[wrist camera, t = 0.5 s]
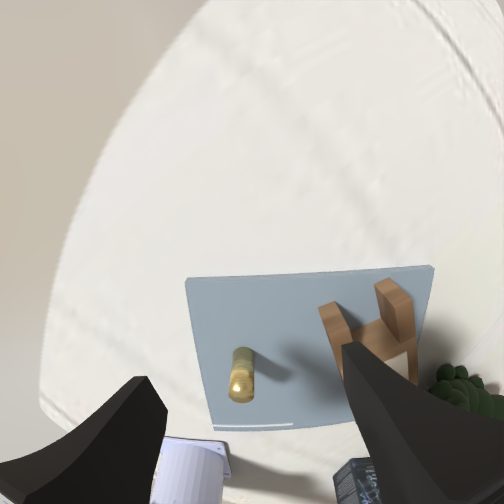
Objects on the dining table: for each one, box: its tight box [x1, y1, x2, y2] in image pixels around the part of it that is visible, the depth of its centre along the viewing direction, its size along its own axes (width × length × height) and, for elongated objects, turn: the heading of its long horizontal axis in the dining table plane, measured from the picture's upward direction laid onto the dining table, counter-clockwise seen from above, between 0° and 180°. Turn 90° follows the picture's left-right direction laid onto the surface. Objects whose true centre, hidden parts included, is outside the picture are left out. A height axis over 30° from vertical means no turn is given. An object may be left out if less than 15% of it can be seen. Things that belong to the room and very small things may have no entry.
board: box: [185, 265, 435, 431], centre depth 20 cm, size 16×18×1 cm
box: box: [333, 458, 382, 504], centre depth 22 cm, size 8×6×11 cm
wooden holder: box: [318, 277, 418, 424], centre depth 18 cm, size 10×6×4 cm, turn 23°
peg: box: [228, 347, 255, 403], centre depth 17 cm, size 2×2×4 cm
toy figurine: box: [428, 364, 504, 420], centre depth 15 cm, size 9×19×25 cm
